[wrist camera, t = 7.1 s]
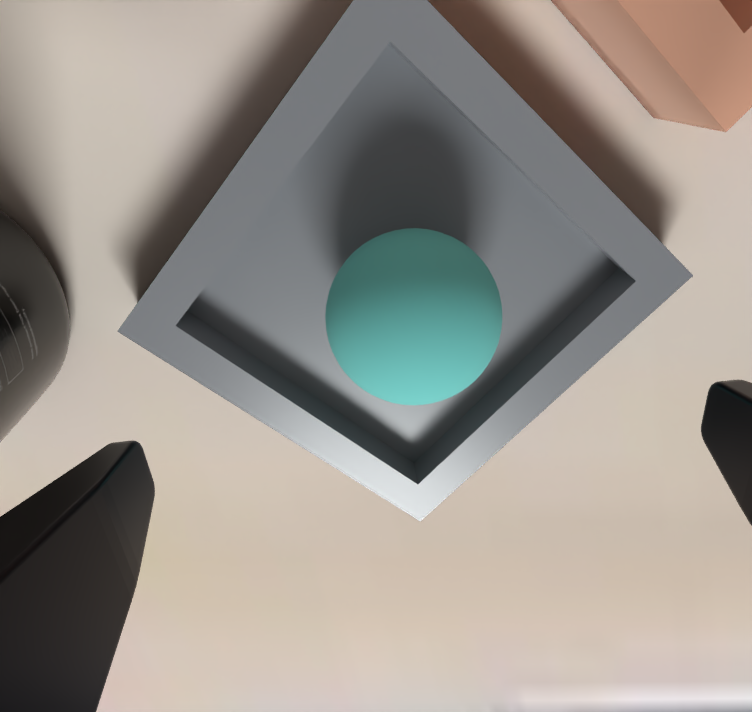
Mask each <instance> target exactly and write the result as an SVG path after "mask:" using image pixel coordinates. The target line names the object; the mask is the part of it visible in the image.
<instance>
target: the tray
mask: <svg viewBox="0 0 752 712" xmlns="http://www.w3.org/2000/svg"><path fill="white" fill-rule="evenodd" d="M408 228H420V229H429V230H433V231H438V232H441V233H444V234H446V235H449V236H452V237H454V238H455V239H457V240H459V241H461V242H463V243H464V244H465V245H466V246H468V247H469V248H470V249H472V250H473V251H474V252H475V253H476V254H477V255H478V256H479V257H480V258H481V259H482V261H483V262H484V263H485V265H486V266H487V267H488V269H489V271H490V272H491V274H492V276H493V278H494V280H495V282H496V285H497V288H498V290H499V294H500V299H501V304H502V329H501V334H500V338H499V343H498V345H497V348H496V351H495V353H494V355H493V357H492V359H491V361H490V362H489V364H488V365H487V367H486V368H485V370H484V371H483V373H482V374H481V375H480V376H479V377H478V378H477V379H476V380H475V381H474V382H473V383H472V384H471V385H469V386H468V387H467V388H465V389H464V390H463V391H461V392H459V393H458V394H456V395H454V396H452V397H450V398H447V399H445V400H442V401H439V402H435V403H431V404H425V405H401V404H396V403H391V402H388V401H385V400H382V399H380V398H378V397H375V396H373V395H371V394H370V393H368V392H366V391H365V390H363V389H362V388H360V387H359V386H358V385H357V384H355V383H354V382H353V381H352V380H351V378H350V377H349V376H348V375H347V374H346V373H345V372H344V371H343V369H342V368H341V367H340V365H339V363H338V362H337V360H336V358H335V356H334V354H333V352H332V349H331V347H330V344H329V341H328V336H327V331H326V320H325V313H326V304H327V299H328V295H329V290H330V288H331V285H332V282H333V280H334V278H335V276H336V274H337V273H338V271H339V269H340V268H341V267H342V265H343V264H344V262H345V261H346V260H347V259H348V258H349V256H350V255H351V254H352V253H353V252H354V251H355V250H357V249H358V248H359V247H360V246H362V245H363V244H365V243H366V242H368V241H369V240H371V239H373V238H375V237H377V236H379V235H382V234H384V233H387V232H391V231H394V230H400V229H408ZM692 276H693V275H692V274H691V273H690V272H689V271H688V270H687V269H686V268H685V267H684V266H683V265H682V263H681V262H680V261H679V260H678V259H677V258H676V257H675V256H674V255H673V254H672V253H671V252H670V251H669V250H668V249H667V248H666V247H665V246H664V245H663V244H662V243H661V242H660V241H659V240H658V239H657V238H656V237H655V236H654V235H653V233H652V232H651V231H650V230H649V229H648V228H647V227H646V226H645V225H644V224H643V223H642V222H641V221H640V220H639V219H638V218H637V217H636V216H635V215H634V214H633V213H632V212H631V211H630V210H629V209H628V208H627V207H626V206H625V204H624V203H623V202H622V201H621V200H620V199H619V198H618V197H617V196H616V195H615V194H614V193H613V192H612V191H611V190H610V189H609V188H608V187H607V186H606V185H605V184H604V183H603V182H602V181H601V180H600V179H599V178H598V177H597V175H596V174H595V173H594V172H593V171H592V170H591V169H590V168H589V167H588V166H587V165H586V164H585V163H584V162H583V161H582V160H581V159H580V158H579V157H578V156H577V155H576V154H575V153H574V152H573V151H572V150H571V149H570V148H569V147H568V145H567V144H566V143H565V142H564V141H563V140H562V139H561V138H560V137H559V136H558V135H557V134H556V133H555V132H554V131H553V130H552V129H551V128H550V127H549V126H548V125H547V124H546V123H545V122H544V121H543V120H542V119H541V118H540V116H539V115H538V114H537V113H536V112H535V111H534V110H533V109H532V108H531V107H530V106H529V105H528V104H527V103H526V102H525V101H524V100H523V99H522V98H521V97H520V96H519V95H518V94H517V93H516V92H515V91H514V90H513V89H512V87H511V86H510V85H509V84H508V83H507V82H506V81H505V80H504V79H503V78H502V77H501V76H500V75H499V74H498V73H497V72H496V71H495V70H494V69H493V68H492V67H491V66H490V65H489V64H488V63H487V62H486V61H485V60H484V59H483V57H482V56H481V55H480V54H479V53H478V52H477V51H476V50H475V49H474V48H473V47H472V46H471V45H470V44H469V43H468V42H467V41H466V40H465V39H464V38H463V37H462V36H461V35H460V34H459V33H458V32H457V31H456V30H455V28H454V27H453V26H452V25H451V24H450V23H449V22H448V21H447V20H446V19H445V18H444V17H443V16H442V15H441V14H440V13H439V12H438V11H437V10H436V9H435V8H434V7H433V6H432V5H431V4H430V3H429V2H428V1H427V0H353V1H352V3H351V4H350V6H349V7H348V8H347V10H346V11H345V13H344V14H343V15H342V17H341V18H340V20H339V21H338V22H337V24H336V25H335V27H334V28H333V30H332V31H331V32H330V34H329V35H328V37H327V38H326V39H325V41H324V42H323V44H322V45H321V46H320V48H319V49H318V51H317V52H316V53H315V55H314V56H313V58H312V59H311V60H310V62H309V63H308V65H307V66H306V67H305V69H304V70H303V72H302V73H301V74H300V76H299V77H298V79H297V80H296V81H295V83H294V84H293V86H292V87H291V88H290V90H289V91H288V93H287V94H286V95H285V97H284V98H283V100H282V101H281V102H280V104H279V105H278V107H277V108H276V109H275V111H274V112H273V114H272V115H271V117H270V118H269V119H268V121H267V122H266V124H265V125H264V126H263V128H262V129H261V131H260V132H259V133H258V135H257V136H256V138H255V139H254V140H253V142H252V143H251V145H250V146H249V147H248V149H247V150H246V152H245V153H244V154H243V156H242V157H241V159H240V160H239V161H238V163H237V164H236V166H235V167H234V168H233V170H232V171H231V173H230V174H229V175H228V177H227V178H226V180H225V181H224V182H223V184H222V185H221V187H220V188H219V189H218V191H217V192H216V194H215V195H214V196H213V198H212V199H211V201H210V202H209V204H208V205H207V206H206V208H205V209H204V211H203V212H202V213H201V215H200V216H199V218H198V219H197V220H196V222H195V223H194V225H193V226H192V227H191V229H190V230H189V232H188V233H187V234H186V236H185V237H184V239H183V240H182V241H181V243H180V244H179V246H178V247H177V248H176V250H175V251H174V253H173V254H172V255H171V257H170V258H169V260H168V261H167V262H166V264H165V265H164V267H163V268H162V269H161V271H160V272H159V274H158V275H157V276H156V278H155V279H154V281H153V282H152V283H151V285H150V286H149V288H148V289H147V291H146V292H145V293H144V295H143V296H142V298H141V299H140V300H139V302H138V303H137V305H136V306H135V307H134V309H133V310H132V312H131V313H130V314H129V316H128V317H127V319H126V320H125V321H124V323H123V324H122V326H121V327H120V328H119V330H118V332H119V333H121V334H122V335H124V336H126V337H127V338H129V339H130V340H132V341H133V342H135V343H137V344H138V345H140V346H141V347H143V348H145V349H146V350H148V351H149V352H151V353H153V354H154V355H156V356H157V357H159V358H161V359H162V360H164V361H165V362H167V363H169V364H170V365H172V366H173V367H175V368H176V369H178V370H180V371H181V372H183V373H184V374H186V375H188V376H189V377H191V378H192V379H194V380H196V381H197V382H199V383H200V384H202V385H204V386H205V387H207V388H208V389H210V390H212V391H213V392H215V393H216V394H218V395H220V396H221V397H223V398H224V399H226V400H227V401H229V402H231V403H232V404H234V405H235V406H237V407H239V408H240V409H242V410H243V411H245V412H247V413H248V414H250V415H251V416H253V417H255V418H256V419H258V420H259V421H261V422H263V423H264V424H266V425H267V426H269V427H270V428H272V429H274V430H275V431H277V432H278V433H280V434H282V435H283V436H285V437H286V438H288V439H290V440H291V441H293V442H294V443H296V444H298V445H299V446H301V447H302V448H304V449H306V450H307V451H309V452H310V453H312V454H314V455H315V456H317V457H318V458H320V459H321V460H323V461H325V462H326V463H328V464H329V465H331V466H333V467H334V468H336V469H337V470H339V471H341V472H342V473H344V474H345V475H347V476H349V477H350V478H352V479H353V480H355V481H357V482H358V483H360V484H361V485H363V486H364V487H366V488H368V489H369V490H371V491H372V492H374V493H376V494H377V495H379V496H380V497H382V498H384V499H385V500H387V501H388V502H390V503H392V504H393V505H395V506H396V507H398V508H400V509H401V510H403V511H404V512H406V513H407V514H409V515H411V516H412V517H414V518H415V519H417V520H419V521H421V520H422V519H424V518H425V517H426V516H427V515H428V514H429V513H430V512H431V511H432V510H434V509H435V508H436V507H437V506H438V505H439V504H440V503H441V502H442V501H444V500H445V499H446V498H447V497H448V496H449V495H450V494H451V493H452V492H454V491H455V490H456V489H457V488H458V487H459V486H460V485H461V484H462V483H464V482H465V481H466V480H467V479H468V478H469V477H470V476H471V475H472V474H474V473H475V472H476V471H477V470H478V469H479V468H480V467H481V466H482V465H484V464H485V463H486V462H487V461H488V460H489V459H490V458H491V457H492V456H494V455H495V454H496V453H497V452H498V451H499V450H500V449H501V448H502V447H504V446H505V445H506V444H507V443H508V442H509V441H510V440H511V439H512V438H514V437H515V436H516V435H517V434H518V433H519V432H520V431H521V430H522V429H523V428H525V427H526V426H527V425H528V424H529V423H530V422H531V421H532V420H533V419H535V418H536V417H537V416H538V415H539V414H540V413H541V412H542V411H543V410H545V409H546V408H547V407H548V406H549V405H550V404H551V403H552V402H553V401H555V400H556V399H557V398H558V397H559V396H560V395H561V394H562V393H563V392H565V391H566V390H567V389H568V388H569V387H570V386H571V385H572V384H573V383H575V382H576V381H577V380H578V379H579V378H580V377H581V376H582V375H583V374H585V373H586V372H587V371H588V370H589V369H590V368H591V367H592V366H593V365H595V364H596V363H597V362H598V361H599V360H600V359H601V358H602V357H603V356H605V355H606V354H607V353H608V352H609V351H610V350H611V349H612V348H613V347H615V346H616V345H617V344H618V343H619V342H620V341H621V340H622V339H623V338H625V337H626V336H627V335H628V334H629V333H630V332H631V331H632V330H633V329H635V328H636V327H637V326H638V325H639V324H640V323H641V322H642V321H643V320H645V319H646V318H647V317H648V316H649V315H650V314H651V313H652V312H653V311H655V310H656V309H657V308H658V307H659V306H660V305H661V304H662V303H663V302H665V301H666V300H667V299H668V298H669V297H670V296H671V295H672V294H673V293H674V292H676V291H677V290H678V289H679V288H680V287H681V286H682V285H683V284H684V283H686V282H687V281H688V280H689V279H690V278H691V277H692Z"/></svg>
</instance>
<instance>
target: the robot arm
mask: <svg viewBox="0 0 752 712" xmlns="http://www.w3.org/2000/svg"><path fill="white" fill-rule="evenodd" d="M701 433H702V437H703V440H704V442H705V444H706V446H707V448H708V450H709V451H710V453H711V455H712V457H713V459H714V460H715V462H716V464H717V466H718V468H719V469H720V471H721V473H722V475H723V477H724V478H725V480H726V482H727V484H728V486H729V488H730V489H731V491H732V493H733V495H734V497H735V498H736V500H737V502H738V504H739V506H740V507H741V509H742V511H743V512H744V514H745V516H746V517H747V519H748V521H749V522H750V524H751V525H752V383H750V382H747V381H744V380H730V381H720V382H715V383H714V384H713V385H711V387H710V389H709V391H708V396H707V400H706V405H705V410H704V415H703V419H702V424H701ZM154 496H155V487H154V482H153V478H152V475H151V472H150V469H149V466H148V463H147V460H146V457H145V454H144V451H143V448H142V446H141V445H140V443H138V442H136V441H125V442H115V443H110V444H108V445H107V446H105V447H104V448H102V449H101V450H99V451H98V452H96V453H95V454H93V455H92V456H90V457H89V458H87V459H86V460H84V461H83V462H81V463H80V464H79V465H77V466H76V467H74V468H73V469H71V470H70V471H68V472H67V473H65V474H64V475H62V476H61V477H59V478H58V479H56V480H55V481H53V482H52V483H50V484H49V485H47V486H46V487H44V488H43V489H41V490H40V491H38V492H37V493H35V494H34V495H32V496H31V497H29V498H28V499H26V500H25V501H23V502H22V503H20V504H19V505H17V506H16V507H14V508H13V509H11V510H10V511H8V512H7V513H5V514H4V515H2V516H1V517H0V712H96V710H97V707H98V704H99V701H100V698H101V695H102V692H103V688H104V685H105V682H106V679H107V676H108V673H109V670H110V667H111V664H112V661H113V657H114V654H115V651H116V648H117V645H118V642H119V639H120V636H121V633H122V629H123V626H124V623H125V620H126V617H127V614H128V611H129V608H130V605H131V602H132V598H133V595H134V592H135V588H136V585H137V581H138V576H139V572H140V567H141V562H142V557H143V552H144V547H145V542H146V537H147V532H148V527H149V522H150V517H151V512H152V507H153V501H154Z"/></svg>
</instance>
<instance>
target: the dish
mask: <svg viewBox="0 0 752 712" xmlns="http://www.w3.org/2000/svg"><path fill="white" fill-rule="evenodd" d="M551 1H552V2H553V3H554V4H555V6H556V7H557V8H558V9H559V10H560V11H561V12H562V14H563V15H564V16H565V17H566V18H567V19H568V21H569V22H570V23H571V24H572V25H573V26H574V27H575V29H576V30H577V31H578V32H579V33H580V34H581V35H582V37H583V38H584V39H585V40H586V41H587V42H588V43H589V45H590V46H591V47H592V48H593V49H594V50H595V51H596V53H597V54H598V55H599V56H600V57H601V58H602V59H603V61H604V62H605V63H606V64H607V65H608V66H609V67H610V69H611V70H612V71H613V72H614V73H615V74H616V75H617V77H618V78H619V79H620V80H621V81H622V82H623V83H624V85H625V86H626V87H627V88H628V89H629V90H630V92H631V93H632V94H633V95H634V96H635V97H636V98H637V100H638V101H639V102H640V103H641V104H642V105H643V106H644V108H645V109H646V110H647V111H648V112H649V113H650V114H651V116H652V117H653V118H657V119H662V120H667V121H673V122H678V123H683V124H688V125H693V126H698V127H703V128H708V129H713V130H718V131H723V132H727V131H728V130H729V129H730V128H731V127H732V126H733V125H734V124H735V123H736V122H737V121H738V120H739V119H740V118H741V117H742V116H743V115H744V114H745V113H746V112H747V111H748V110H749V109H750V108H751V107H752V0H551Z"/></svg>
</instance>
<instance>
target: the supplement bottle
mask: <svg viewBox="0 0 752 712" xmlns="http://www.w3.org/2000/svg"><path fill="white" fill-rule="evenodd" d="M69 336H70V321H69V312H68V307H67V303H66V299H65V296H64V292H63V289H62V287H61V284H60V282H59V279H58V277H57V275H56V273H55V271H54V269H53V268H52V266H51V264H50V263H49V261H48V260H47V258H46V256H45V255H44V254H43V252H42V251H41V250H40V248H39V247H38V246H37V244H36V243H35V242H34V241H33V240H32V239H31V237H30V236H29V235H28V234H27V233H26V232H25V231H24V230H23V229H22V228H21V227H20V226H19V225H18V224H17V223H16V222H14V221H13V220H12V219H11V218H10V217H8V216H7V215H6V214H5V213H3V212H2V211H1V210H0V442H1V441H2V440H3V439H4V438H5V436H6V435H7V434H8V433H9V432H10V431H11V430H12V429H13V427H14V426H15V425H16V424H17V423H18V422H19V421H20V420H21V418H22V417H23V416H24V415H25V414H26V413H27V412H28V410H29V409H30V408H31V407H32V406H33V405H34V404H35V402H36V401H37V400H38V399H39V398H40V397H41V395H42V394H43V393H44V392H45V391H46V389H47V388H48V387H49V386H50V385H51V383H52V382H53V380H54V379H55V377H56V376H57V374H58V372H59V371H60V369H61V367H62V364H63V362H64V360H65V356H66V353H67V349H68V344H69Z"/></svg>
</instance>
